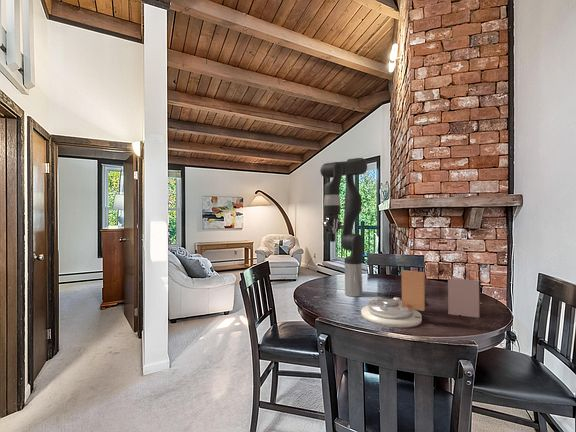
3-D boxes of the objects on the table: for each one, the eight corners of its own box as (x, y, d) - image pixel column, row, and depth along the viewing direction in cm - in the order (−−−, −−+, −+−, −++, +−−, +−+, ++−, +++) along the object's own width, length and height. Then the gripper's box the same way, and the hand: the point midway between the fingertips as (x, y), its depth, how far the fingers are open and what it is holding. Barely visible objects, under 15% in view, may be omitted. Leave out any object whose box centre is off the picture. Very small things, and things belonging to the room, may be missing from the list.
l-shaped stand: (361, 313, 124) (360, 269, 124) (378, 302, 138) (377, 264, 138) (418, 324, 110) (417, 276, 110) (430, 312, 124) (429, 269, 124)
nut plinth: (376, 305, 142) (376, 300, 142) (429, 315, 126) (429, 310, 126) (350, 318, 124) (350, 313, 124) (409, 332, 108) (409, 326, 108)
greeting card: (480, 317, 124) (479, 281, 124) (471, 320, 120) (470, 283, 120) (453, 310, 134) (452, 276, 134) (443, 313, 130) (443, 278, 130)
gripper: (331, 204, 132) (331, 243, 132) (346, 204, 142) (346, 241, 142) (317, 204, 137) (317, 242, 137) (333, 205, 147) (333, 240, 147)
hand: (332, 241), depth 140 cm, fingers closed
